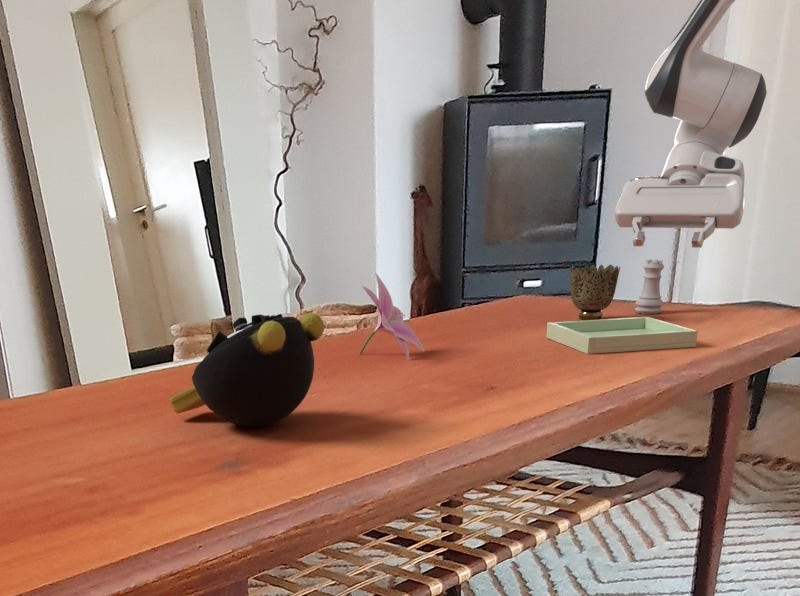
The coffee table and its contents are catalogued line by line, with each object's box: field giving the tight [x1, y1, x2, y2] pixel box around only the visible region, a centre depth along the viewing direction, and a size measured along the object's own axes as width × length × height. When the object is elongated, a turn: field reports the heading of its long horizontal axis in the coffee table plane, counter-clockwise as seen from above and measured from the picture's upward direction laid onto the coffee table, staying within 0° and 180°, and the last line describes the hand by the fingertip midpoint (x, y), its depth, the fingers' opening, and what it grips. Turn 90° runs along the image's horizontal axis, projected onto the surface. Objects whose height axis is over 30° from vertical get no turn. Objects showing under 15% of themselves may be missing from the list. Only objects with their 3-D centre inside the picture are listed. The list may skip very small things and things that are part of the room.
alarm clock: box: [169, 312, 325, 428], centre depth 96 cm, size 12×15×15 cm
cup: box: [569, 264, 621, 321], centre depth 151 cm, size 8×7×8 cm
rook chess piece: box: [634, 259, 665, 315], centre depth 156 cm, size 4×4×8 cm
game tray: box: [545, 316, 699, 355], centre depth 134 cm, size 16×14×2 cm
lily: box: [359, 273, 425, 360], centre depth 129 cm, size 12×12×10 cm
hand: (666, 244), depth 159 cm, fingers open, 8 cm apart
